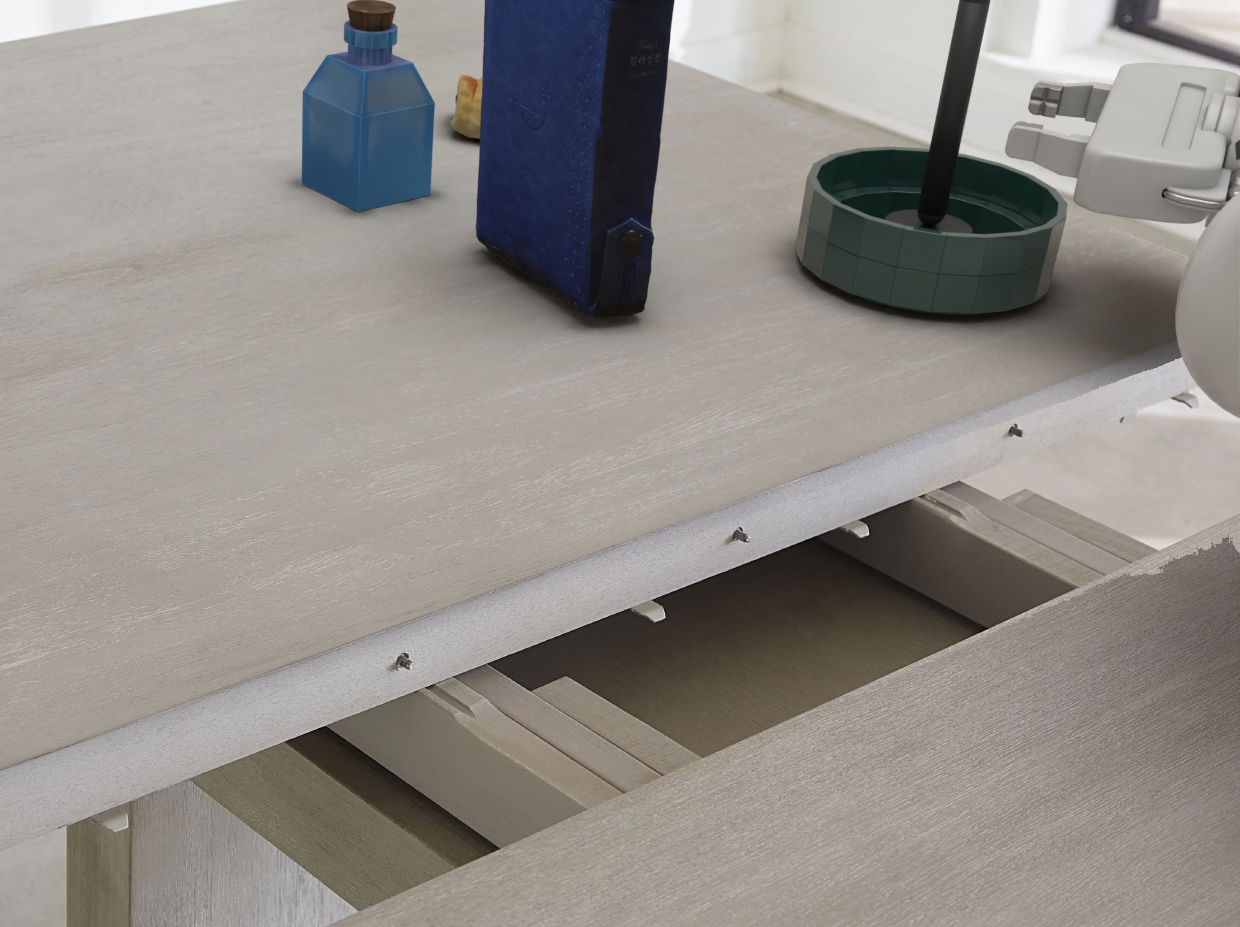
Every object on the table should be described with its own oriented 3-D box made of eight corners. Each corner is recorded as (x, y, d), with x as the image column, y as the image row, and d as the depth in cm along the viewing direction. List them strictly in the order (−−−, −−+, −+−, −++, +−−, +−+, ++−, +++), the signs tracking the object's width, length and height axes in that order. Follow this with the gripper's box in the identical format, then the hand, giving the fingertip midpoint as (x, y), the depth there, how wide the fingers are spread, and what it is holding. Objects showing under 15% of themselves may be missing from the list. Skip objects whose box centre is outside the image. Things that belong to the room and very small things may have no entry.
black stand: (953, 249, 125) (1011, -26, 115) (973, 282, 120) (1037, -1, 110) (869, 245, 125) (921, -31, 115) (887, 278, 120) (943, -7, 110)
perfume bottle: (301, 183, 129) (303, 0, 122) (373, 167, 132) (379, -12, 125) (358, 211, 125) (363, 24, 118) (430, 194, 128) (439, 11, 122)
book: (659, 320, 113) (702, -28, 102) (585, 334, 111) (621, -21, 100) (530, 237, 123) (556, -90, 112) (460, 249, 121) (479, -84, 109)
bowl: (1009, 233, 130) (1028, 153, 127) (1078, 329, 117) (1100, 243, 114) (776, 220, 129) (789, 140, 126) (819, 316, 116) (834, 229, 113)
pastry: (575, 122, 143) (579, 71, 141) (578, 152, 138) (583, 99, 136) (450, 113, 143) (453, 62, 141) (449, 143, 138) (452, 90, 135)
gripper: (1228, 266, 106) (981, 219, 109) (1248, 161, 122) (1031, 123, 125) (1262, 155, 102) (1005, 109, 106) (1277, 61, 118) (1054, 25, 122)
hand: (1020, 116), depth 116 cm, fingers open, 8 cm apart
